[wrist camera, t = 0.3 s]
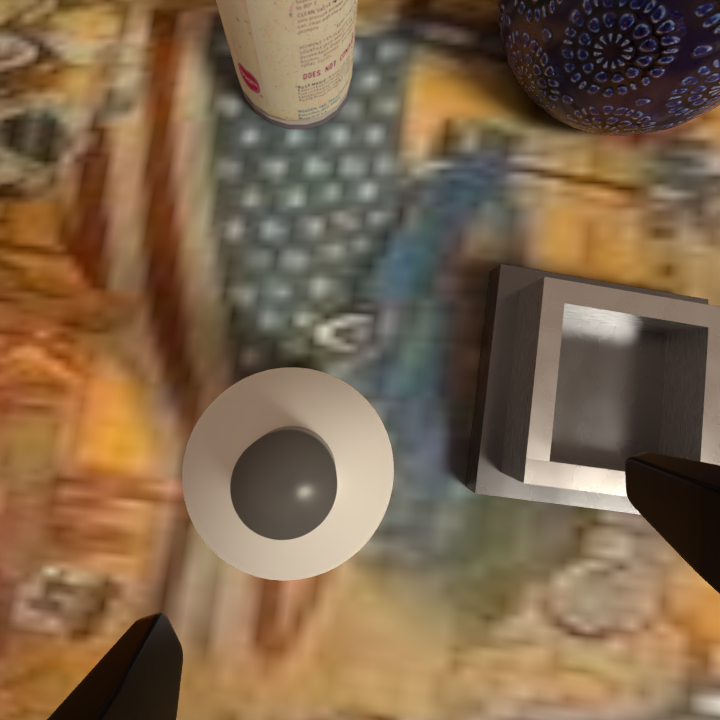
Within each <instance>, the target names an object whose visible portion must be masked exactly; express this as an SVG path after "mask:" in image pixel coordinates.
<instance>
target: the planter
mask: <svg viewBox="0 0 720 720" xmlns="http://www.w3.org/2000/svg"><path fill="white" fill-rule="evenodd" d="M497 19H498V26H499V32H500V36H501V41H502V45H503V49H504V52H505V56H506V58H507V61H508V63H509V65H510V67H511V70H512V71H513V73H514V75H515V77H516V79H517V81H518V82H519V84H520V85H521V87H522V88H523V90H524V91H525V92H526V94H527V95H528V96H529V97H530V98H531V99H532V100H533V101H534V102H535V103H536V104H537V105H538V106H539V107H540V108H541V109H542V110H544V111H545V112H546V113H547V114H549V115H550V116H552V117H553V118H555V119H557V120H558V121H560V122H562V123H564V124H566V125H568V126H571V127H573V128H576V129H579V130H582V131H586V132H590V133H594V134H600V135H609V136H628V135H640V134H646V133H651V132H656V131H661V130H665V129H669V128H672V127H675V126H678V125H680V124H683V123H685V122H687V121H689V120H692V119H694V118H696V117H698V116H700V115H703V114H705V113H707V112H709V111H711V110H712V109H714V108H716V107H717V106H719V105H720V0H497Z"/></svg>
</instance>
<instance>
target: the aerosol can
mask: <svg viewBox="0 0 720 720" xmlns="http://www.w3.org/2000/svg"><path fill="white" fill-rule="evenodd" d="M216 3H217V7H218V10H219V14H220V17H221V21H222V24H223V28H224V31H225V35H226V38H227V42H228V45H229V49H230V52H231V56H232V59H233V63H234V66H235V70H236V73H237V76H238V80H239V84H240V86H241V89H242V92H243V94H244V97H245V100H246V101H247V102H248V103H249V105H250V106H251V107H252V108H253V110H254V111H255V112H256V113H257V114H258V115H260V116H261V117H263V118H264V119H266V120H267V121H268V122H270V123H272V124H275V125H278V126H281V127H284V128H287V129H309V128H312V127H315V126H319V125H322V124H324V123H326V122H327V121H328V120H330V119H331V118H333V117H334V116H336V115H337V114H338V112H339V111H340V110H341V108H342V107H343V106H344V104H345V103H346V101H347V98H348V94H349V91H350V88H351V77H352V67H353V55H354V42H355V30H356V18H357V5H358V0H216Z"/></svg>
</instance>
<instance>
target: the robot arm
mask: <svg viewBox="0 0 720 720" xmlns="http://www.w3.org/2000/svg"><path fill="white" fill-rule="evenodd" d="M625 481H626V494H627V497H628V499H629V501H630V503H631V504H632V505H633V506H634V508H635V509H636V510H637V511H638V512H639V513H640V514H641V515H642V516H643V517H644V518H645V519H646V520H647V521H648V522H649V523H650V524H651V525H652V526H653V527H654V529H655V530H656V531H657V532H658V533H659V534H660V535H661V536H662V537H663V538H664V539H665V540H666V541H667V542H668V543H669V544H670V545H671V546H672V547H673V548H674V549H675V550H676V552H677V553H678V554H679V555H680V556H681V557H682V558H683V559H684V560H685V561H686V562H687V563H688V564H689V565H690V566H691V567H692V568H693V569H694V570H695V571H696V572H697V573H698V574H699V575H700V576H701V577H702V578H703V579H704V580H705V581H706V582H708V583H709V584H710V585H711V586H712V587H713V588H714V589H715V590H716V591H717V592H718V593H720V465H716V464H710V463H705V462H700V461H695V460H689V459H684V458H679V457H674V456H668V455H663V454H658V453H653V452H643V453H640V454H637V455H634V456H631V457H629V458H627V459H626V462H625ZM182 664H183V651H182V647H181V644H180V642H179V640H178V637H177V635H176V633H175V631H174V629H173V627H172V625H171V623H170V621H169V619H168V617H167V616H166V615H165V614H164V613H162V612H159V613H155V614H152V615H149V616H146V617H143V618H141V619H139V620H137V621H136V622H135V623H134V624H133V625H132V626H131V627H130V628H129V629H128V630H127V631H126V633H125V634H124V635H123V636H122V637H121V638H120V639H119V640H118V641H117V643H116V644H115V645H114V646H113V647H112V648H111V649H110V650H109V651H108V653H107V654H106V655H105V656H104V657H103V658H102V659H101V660H100V661H99V663H98V664H97V665H96V666H95V667H94V668H93V669H92V670H91V671H90V673H89V674H88V675H87V676H86V677H85V678H84V679H83V680H82V681H81V683H80V684H79V685H78V686H77V687H76V688H75V689H74V690H73V691H72V693H71V694H70V695H69V696H68V697H67V698H66V699H65V700H64V701H63V703H62V704H61V705H60V706H59V707H58V708H57V709H56V710H55V711H54V713H53V714H52V715H51V716H50V717H49V718H48V719H47V720H176V717H177V708H178V699H179V691H180V682H181V673H182Z"/></svg>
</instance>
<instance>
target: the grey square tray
mask: <svg viewBox="0 0 720 720" xmlns="http://www.w3.org/2000/svg"><path fill="white" fill-rule="evenodd" d="M643 452H653V453H658V454H663V455H668V456H674V457H679V458H684V459H689V460H695V461H700V462H705V463H710V464H716V465H720V307H718V306H712V305H708V300H707V299H701V298H695V297H690V296H684V295H678V294H672V293H667V292H661V291H655V290H649V289H643V288H638V287H632V286H626V285H620V284H614V283H609V282H603V281H597V280H591V279H586V278H580V277H574V276H568V275H562V274H557V273H551V272H545V271H539V270H534V269H528V268H522V267H516V266H510V265H505V264H500V265H499V266H497V267H496V268H494V269H493V270H492V271H490V275H489V284H488V293H487V302H486V310H485V319H484V328H483V337H482V345H481V354H480V363H479V372H478V380H477V389H476V398H475V406H474V415H473V424H472V433H471V441H470V450H469V459H468V468H467V476H466V485H465V487H467V488H468V489H470V490H471V491H473V492H474V493H476V494H484V495H492V496H500V497H508V498H516V499H524V500H532V501H540V502H548V503H556V504H564V505H572V506H580V507H588V508H596V509H604V510H612V511H619V512H627V513H635V514H640V513H639V512H638V511H637V510H636V509H635V508H634V506H633V505H632V504H631V503H630V501H629V499H628V497H627V494H626V481H625V462H626V459H627V458H629V457H631V456H634V455H637V454H640V453H643Z"/></svg>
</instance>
